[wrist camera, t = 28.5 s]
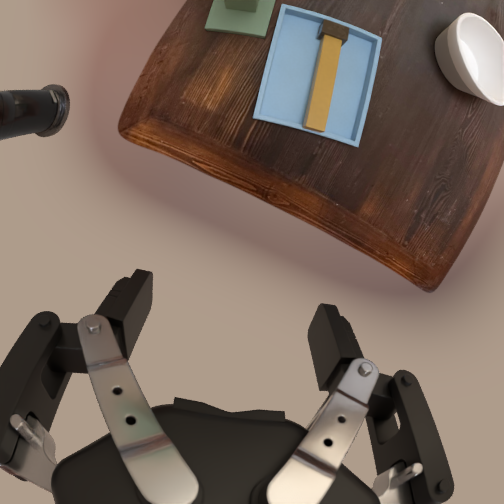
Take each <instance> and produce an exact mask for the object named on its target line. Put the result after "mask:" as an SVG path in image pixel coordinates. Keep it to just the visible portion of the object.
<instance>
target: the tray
mask: <svg viewBox="0 0 504 504" xmlns="http://www.w3.org/2000/svg"><path fill="white" fill-rule="evenodd" d="M324 19H327V20H330V21H333V22H336V23H338V24H341V25H344V26H347V27H349V35H348V41H347V42H346V43H345V44H344V45H343V46H342V47H341V51H340V56H339V62H338V68H337V73H336V78H335V84H334V89H333V94H332V99H331V104H330V109H329V114H328V119H327V123H326V128H325V132H322V133H318V132H315V131H311V130H308V129H304V128H302V127H303V122H304V117H305V113H306V108H307V104H308V99H309V94H310V90H311V85H312V80H313V75H314V71H315V66H316V61H317V56H318V51H319V46H320V41H321V40H319V39H317V35H318V30H319V26H320V24H321V23H322V21H323V20H324ZM381 42H382V38H381V37H378V36H376V35H374V34H372V33H370V32H367V31H365V30H363V29H360V28H358V27H355V26H353V25H350V24H348V23H345V22H342V21H339V20H337V19H334V18H331V17H328V16H325V15H322V14H318V13H315V12H312V11H308V10H305V9H301V8H297V7H293V6H289V5H285V4H282V5H281V9H280V13H279V16H278V20H277V24H276V27H275V31H274V35H273V39H272V42H271V46H270V50H269V54H268V58H267V62H266V66H265V70H264V74H263V78H262V82H261V86H260V90H259V94H258V98H257V102H256V107H255V111H254V115H253V119H258V120H262V121H267V122H271V123H275V124H279V125H284V126H288V127H291V128H295V129H299V130H303V131H306V132H310V133H313V134H317V135H320V136H323V137H327V138H330V139H333V140H336V141H339V142H342V143H345V144H348V145H351V146H355V147H358V145H359V142H360V138H361V134H362V130H363V126H364V122H365V118H366V114H367V110H368V106H369V102H370V97H371V93H372V88H373V84H374V79H375V74H376V69H377V64H378V59H379V53H380V48H381Z"/></svg>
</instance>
